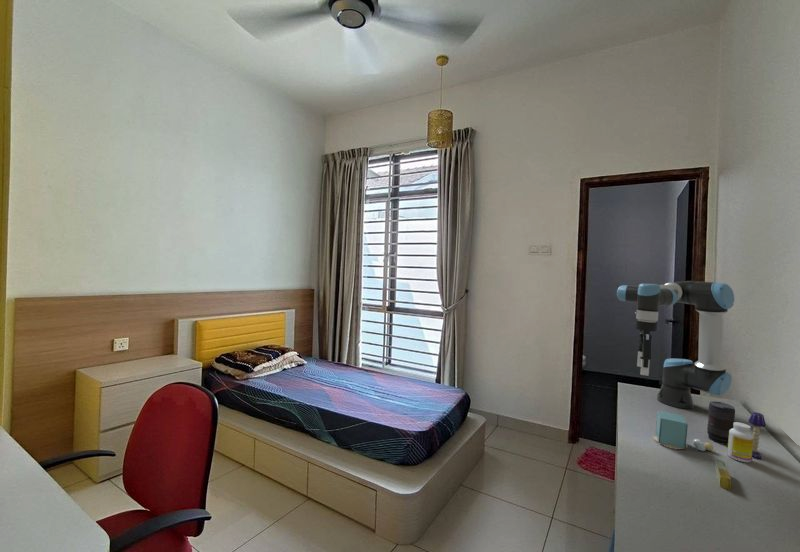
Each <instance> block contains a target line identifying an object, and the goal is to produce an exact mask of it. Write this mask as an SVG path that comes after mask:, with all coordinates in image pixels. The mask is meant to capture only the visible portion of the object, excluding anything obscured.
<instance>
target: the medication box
mask: <svg viewBox="0 0 800 552" xmlns="http://www.w3.org/2000/svg"><path fill="white" fill-rule="evenodd" d="M714 471H715V475H716V478H717V481H718V484H719V488H722V489H724V490H728V491H731V489H732V488H731V487H732V479H731V476H730V473H729V471H728V468H727V466H726V462H724V461H721V460H716V459H715V460H714Z"/></svg>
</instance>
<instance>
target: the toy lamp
mask: <svg viewBox="0 0 800 552" xmlns="http://www.w3.org/2000/svg"><path fill="white" fill-rule="evenodd" d="M747 422H748V423H749V424H750V425H752V426H753V432H752V435H753V437H754V439H753V449H752V457H753V459H755V458H757V459H756V460H762V459H763V457H762V455H761V453H760V452H759V449H758V448H759V443H760V441H759V440H760V432H761V430H760V429H761V428H764V427H766V426H767V425H766V421H765V417H764V415H763V414H762V413H760V412H753V411H752V413H751V414H750V416H749V418H748V421H747Z"/></svg>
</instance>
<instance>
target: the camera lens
mask: <svg viewBox="0 0 800 552" xmlns="http://www.w3.org/2000/svg"><path fill="white" fill-rule="evenodd" d="M735 408H736V407H735V406H734V405H731V404H729V403H726V402H722V401H717V400H716V401H715V400H714V401H710V402H709V404H708V409H707V410H708V419H707V420H708V421H707V429H706V430H707V431H706V433H707V435H708V439H709V440H711V441H713V442H715V443H718V444H722V445H728V440H729V430H730V429H732V428H734V426H733V424H734V422H735V418H736V410H735Z"/></svg>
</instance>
